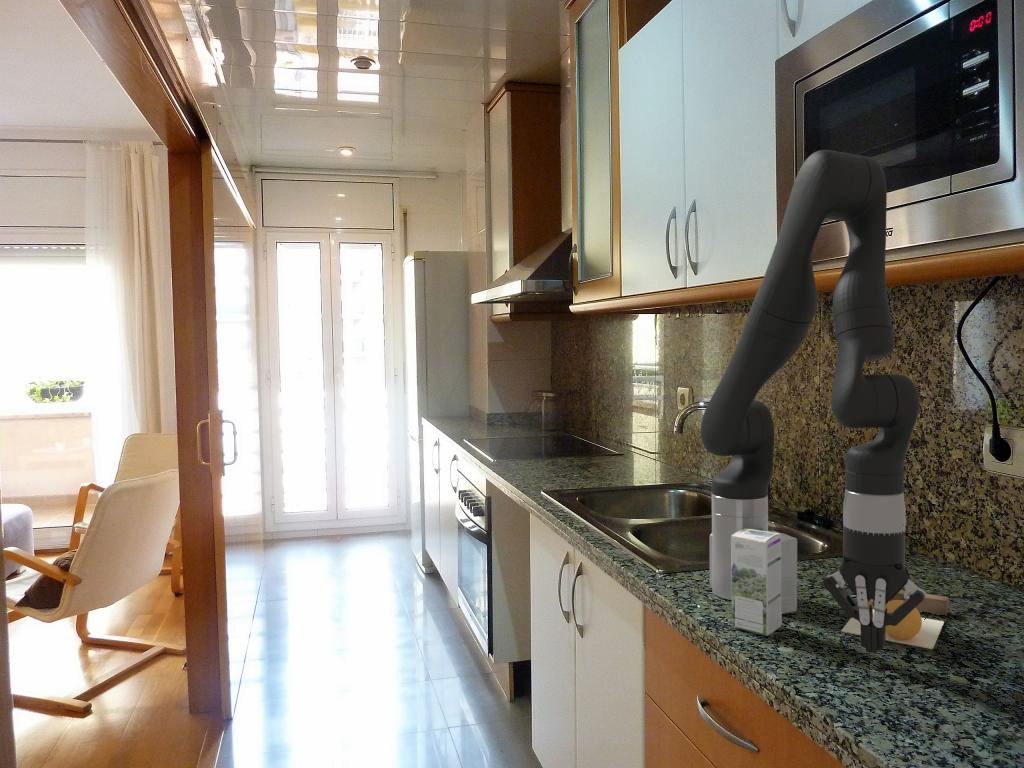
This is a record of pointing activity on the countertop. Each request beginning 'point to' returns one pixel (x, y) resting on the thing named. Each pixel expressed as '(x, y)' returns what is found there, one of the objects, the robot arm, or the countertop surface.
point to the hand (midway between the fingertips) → (873, 651)
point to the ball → (904, 623)
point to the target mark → (922, 639)
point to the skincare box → (788, 573)
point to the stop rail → (927, 603)
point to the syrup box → (756, 581)
